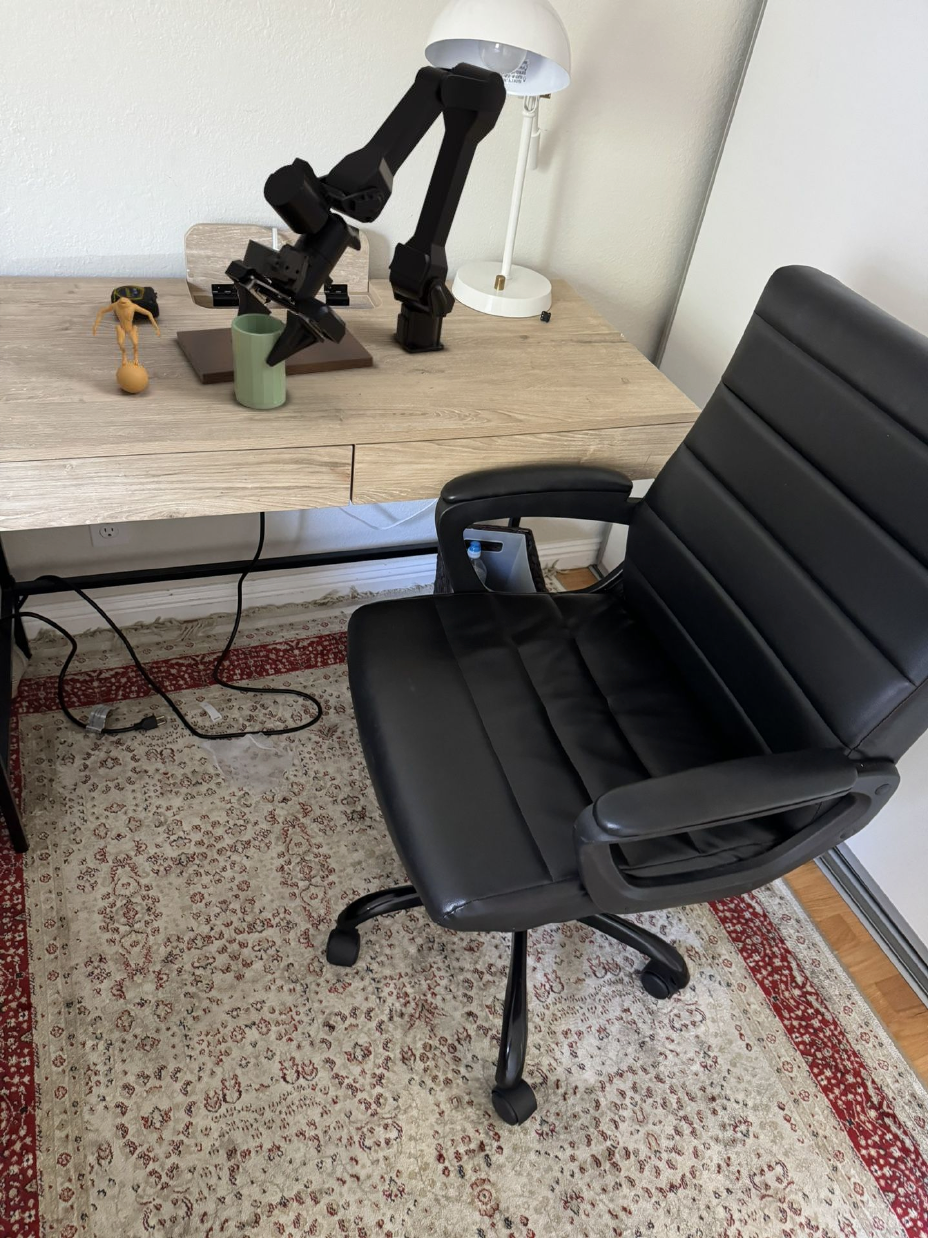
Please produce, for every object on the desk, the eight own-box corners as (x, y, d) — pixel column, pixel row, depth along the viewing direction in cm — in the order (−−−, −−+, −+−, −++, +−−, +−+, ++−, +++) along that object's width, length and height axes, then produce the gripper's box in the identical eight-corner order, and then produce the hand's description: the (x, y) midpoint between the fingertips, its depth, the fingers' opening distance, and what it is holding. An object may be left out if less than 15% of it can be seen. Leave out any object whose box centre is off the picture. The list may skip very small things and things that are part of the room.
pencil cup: (276, 383, 116) (274, 311, 109) (292, 405, 112) (292, 332, 105) (229, 388, 113) (224, 315, 106) (244, 411, 109) (240, 337, 102)
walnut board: (338, 327, 133) (338, 319, 132) (372, 366, 124) (373, 356, 123) (177, 340, 122) (176, 331, 121) (203, 383, 113) (202, 373, 112)
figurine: (99, 397, 107) (83, 307, 99) (103, 376, 111) (88, 288, 103) (166, 398, 109) (155, 310, 101) (167, 377, 113) (157, 292, 105)
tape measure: (161, 325, 125) (158, 301, 122) (113, 325, 122) (109, 300, 120) (158, 307, 129) (156, 283, 127) (112, 306, 127) (109, 282, 125)
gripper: (232, 193, 103) (167, 296, 104) (332, 240, 96) (261, 350, 96) (281, 247, 113) (221, 340, 114) (374, 293, 106) (310, 393, 106)
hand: (250, 354), depth 107 cm, fingers closed on pencil cup, 7 cm apart
